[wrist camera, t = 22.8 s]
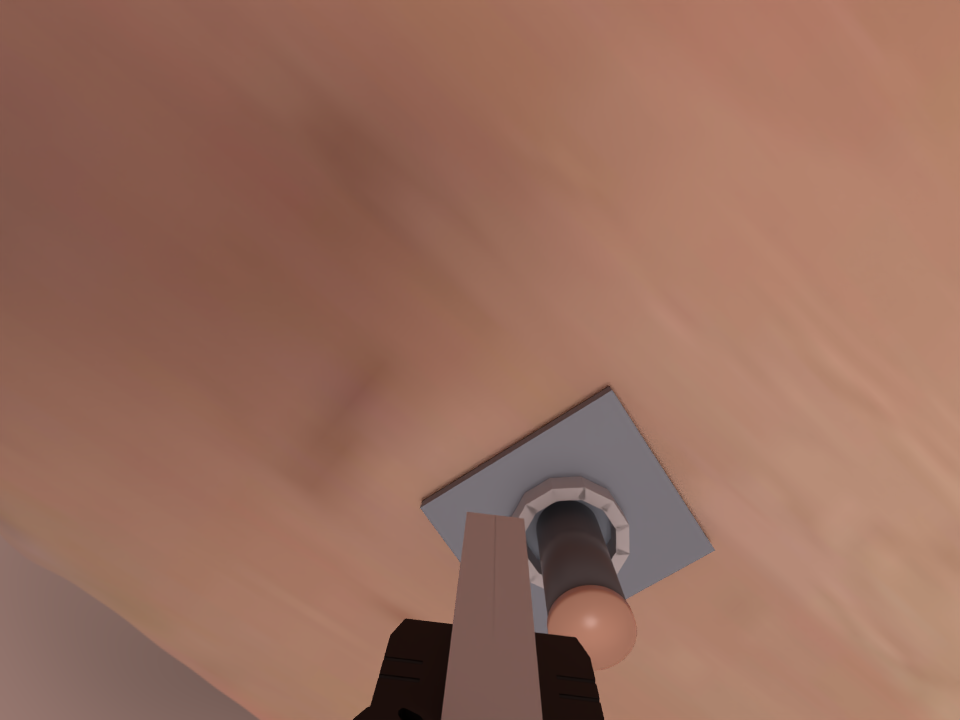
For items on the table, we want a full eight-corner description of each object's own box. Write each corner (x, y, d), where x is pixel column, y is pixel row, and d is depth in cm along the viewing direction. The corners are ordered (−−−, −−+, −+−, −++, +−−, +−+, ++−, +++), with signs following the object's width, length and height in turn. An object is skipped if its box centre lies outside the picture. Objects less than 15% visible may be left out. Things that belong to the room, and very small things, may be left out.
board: (526, 643, 47) (528, 671, 44) (422, 501, 45) (416, 520, 41) (709, 542, 44) (725, 564, 41) (608, 386, 42) (617, 397, 39)
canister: (557, 568, 44) (577, 684, 32) (522, 519, 43) (531, 620, 32) (611, 537, 43) (653, 644, 32) (577, 487, 43) (607, 578, 31)
